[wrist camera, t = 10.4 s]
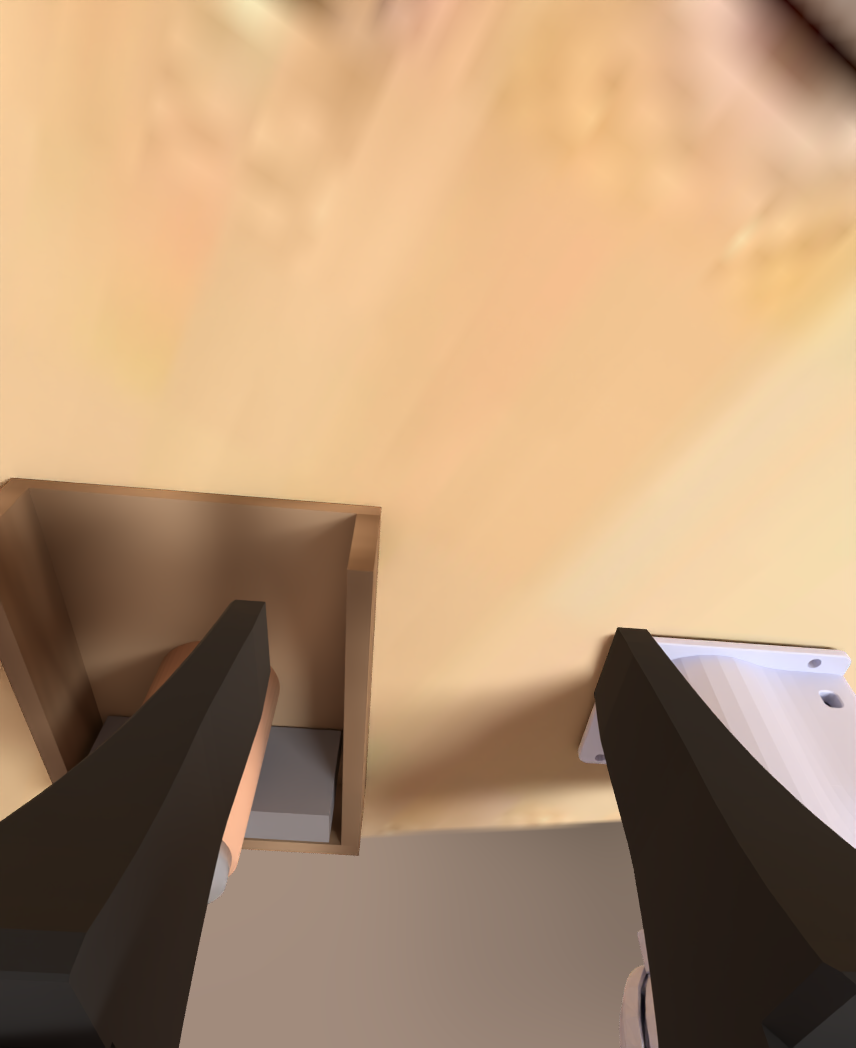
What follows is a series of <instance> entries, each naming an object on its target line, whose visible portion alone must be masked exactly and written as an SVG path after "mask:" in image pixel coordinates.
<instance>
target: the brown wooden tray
mask: <svg viewBox="0 0 856 1048" xmlns="http://www.w3.org/2000/svg"><path fill="white" fill-rule="evenodd" d="M380 522H381V507H371V506H358V505H346V504H333V503H321V502H308V501H295V500H283V499H270V498H258V497H245V496H232V495H220V494H207V493H194V492H182V491H169V490H157V489H144V488H131V487H119V486H106V485H94V484H81V483H68V482H56V481H43V480H30V479H18V478H11V479H10V480H9V481H8V482H7V483H6V484H5V485H4V486H3V487H2V488H1V489H0V660H1V662H2V665H3V667H4V670H5V672H6V674H7V677H8V679H9V681H10V684H11V686H12V689H13V691H14V693H15V696H16V698H17V700H18V703H19V705H20V708H21V710H22V712H23V715H24V717H25V719H26V722H27V724H28V727H29V729H30V731H31V734H32V736H33V739H34V741H35V743H36V746H37V748H38V750H39V753H40V755H41V758H42V760H43V762H44V765H45V767H46V769H47V772H48V774H49V777H50V779H51V781H52V784H53V783H54V782H56V781H57V780H58V779H60V778H61V777H62V776H63V775H65V774H66V773H67V772H68V771H70V770H71V769H72V768H73V767H74V766H76V765H77V764H78V763H79V762H81V761H82V760H83V759H84V758H85V757H87V756H88V755H89V753H90V751H91V749H92V747H93V745H94V743H95V741H96V739H97V737H98V735H99V733H100V731H101V729H102V727H103V725H104V723H105V721H106V719H107V717H108V716H119V717H131V716H132V715H133V714H134V713H135V712H136V711H137V710H138V709H139V708H140V707H141V706H142V704H143V702H144V700H145V697H146V695H147V693H148V691H149V689H150V686H151V684H152V682H153V680H154V678H155V675H156V673H157V671H158V669H159V667H160V664H161V662H162V660H163V659H164V657H165V656H166V655H167V654H168V653H169V652H170V651H172V650H173V649H175V648H176V647H178V646H180V645H183V644H186V643H190V642H194V641H201V640H202V639H203V638H204V636H205V635H206V634H207V633H208V631H209V630H210V629H211V628H212V626H213V625H214V624H215V622H216V621H217V620H218V619H219V617H220V616H221V615H222V613H223V612H224V611H225V609H226V608H227V607H228V605H229V604H230V603H231V602H232V601H234V600H248V601H262V602H265V603H266V616H267V629H268V643H269V656H270V666H271V667H272V668H273V670H274V671H275V673H276V675H277V677H278V679H279V683H280V694H279V698H278V702H277V706H276V710H275V714H274V718H273V722H272V726H273V727H288V728H304V729H319V730H335V731H341V759H340V766H339V773H338V781H337V788H336V795H335V802H334V810H333V817H332V824H331V832H330V839H329V842H312V841H294V840H277V839H260V838H244V840H243V844H242V848H241V849H251V850H269V851H286V852H303V853H321V854H339V855H356V856H358V855H359V848H360V837H361V827H362V817H363V807H364V797H365V786H366V769H367V751H368V734H369V716H370V698H371V681H372V663H373V645H374V628H375V610H376V592H377V575H378V557H379V539H380Z"/></svg>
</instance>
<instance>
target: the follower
mask: <svg viewBox="0 0 856 1048" xmlns="http://www.w3.org/2000/svg"><path fill="white" fill-rule="evenodd" d="M129 718H130V717H119V716H108V717H107V719H106V721H105V723H104V725H103V727H102V729H101V731H100V733H99V735H98V737H97V739H96V741H95V743H94V745H93V747H92V749H91V751H90V753H92V752H93V751H94V750H95V749H96V748H97V747H98V746H100V745H101V744H102V743H103V742H104V741H105V740H106V739H107V738H109V737H110V736H111V735H112V734H113V733H114V732H115V731H116V730H117V729H119V728H120V727H121V726H122V725H123V724H124V723H125V722H126V721H127V720H128V719H129ZM90 753H89V754H90ZM340 759H341V731H335V730H319V729H304V728H288V727H273V726H271V730H270V734H269V738H268V742H267V746H266V751H265V755H264V759H263V763H262V767H261V771H260V775H259V779H258V783H257V787H256V791H255V795H254V799H253V803H252V807H251V812H250V816H249V820H248V824H247V828H246V832H245V836H244V838H260V839H277V840H294V841H312V842H329V839H330V832H331V824H332V817H333V810H334V802H335V795H336V788H337V781H338V773H339V766H340Z"/></svg>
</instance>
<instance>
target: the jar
mask: <svg viewBox="0 0 856 1048" xmlns="http://www.w3.org/2000/svg"><path fill="white" fill-rule="evenodd" d="M199 642H200V641H194V642H190V643H186V644H183V645H180V646H178V647H176V648H175V649H173V650H172V651H170V652H169V653H168V654H167V655H166V656H165V657H164V659H163V660H162V662H161V664H160V667H159V669H158V671H157V673H156V675H155V678H154V680H153V682H152V684H151V686H150V689H149V691H148V693H147V695H146V697H145V700H144V702H143V704H144V703H145V702H146V701H147V700H148V699H149V698H150V697H151V696H152V695H153V694H154V693H155V692H156V691H157V690H158V689H159V688H160V687H161V686H162V685H163V684H164V683H165V681H166V680H167V679H168V678H169V677H170V676H171V675H172V674H173V673H174V671H175V670H176V669H177V668H178V667H179V666H180V665H181V663H182V662H183V661H184V660H185V659H186V658H187V657H188V655H189V654H190V653H191V652H192V651H193V650H194V649H195V647H196V646H197V645H198V644H199ZM270 669H271V672H270V677H269V682H268V687H267V692H266V697H265V702H264V707H263V712H262V716H261V720H260V723H259V726H258V730H257V733H256V736H255V739H254V742H253V745H252V748H251V751H250V754H249V757H248V760H247V763H246V766H245V769H244V772H243V776H242V779H241V782H240V785H239V788H238V791H237V794H236V797H235V800H234V803H233V806H232V809H231V812H230V815H229V818H228V821H227V825H226V828H225V832H224V835H223V839H222V842H221V846H220V851H219V855H218V859H217V864H216V868H215V873H214V877H213V881H212V886H211V890H210V895H209V899H208V904H209V903H211V902H213V901H215V900H216V899H218V898H219V897H220V896H221V895H222V894H223V892H224V890H225V887H226V883H227V879H228V877H229V876H230V875H231V874H232V873H233V872H234V870H235V869H236V867H237V864H238V860H239V856H240V852H241V848H242V844H243V840H244V836H245V832H246V828H247V824H248V820H249V816H250V812H251V807H252V803H253V799H254V795H255V791H256V787H257V783H258V779H259V775H260V771H261V767H262V763H263V759H264V755H265V751H266V746H267V742H268V738H269V734H270V730H271V726H272V722H273V718H274V714H275V710H276V706H277V702H278V698H279V694H280V683H279V679H278V677H277V675H276V673H275V671H274V670H273V668H272V667H271V666H270ZM143 704H142V705H143Z"/></svg>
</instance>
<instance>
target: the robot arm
mask: <svg viewBox="0 0 856 1048" xmlns="http://www.w3.org/2000/svg"><path fill="white" fill-rule="evenodd" d="M850 664H851V659H850V657H849V656H848V654H847V653H846V652H844V651H841V650H830V649H816V648H802V647H789V646H775V645H761V644H747V643H733V642H719V641H706V640H692V639H678V638H664V637H652V635H651V634H650V633H649V632H648V630H647V629H633V628H620V627H618V628H617V630H616V633H615V636H614V639H613V642H612V644H611V647H610V650H609V653H608V656H607V658H606V661H605V664H604V667H603V670H602V672H601V675H600V678H599V681H598V684H597V687H596V689H595V692H594V697H595V704H594V707H593V709H592V712H591V715H590V718H589V720H588V723H587V726H586V729H585V731H584V734H583V737H582V740H581V743H580V745H579V748H578V756H579V759H580V760H581V761H583V762H585V763H597V764H607V768H608V771H609V775H610V779H611V783H612V786H613V790H614V794H615V798H616V801H617V805H618V809H619V812H620V816H621V820H622V823H623V827H624V831H625V834H626V838H627V841H628V846H629V850H630V855H631V859H632V864H633V868H634V873H635V880H636V886H637V892H638V898H639V904H640V910H641V916H642V923H643V929H642V930H640V931H638V933H637V935H638V939H639V943H640V948H641V952H642V957H643V961H644V965H642V966H638V967H637V968H635V969H634V970H633V971H632V972H631V973H630V975H629V977H628V979H627V981H626V985H625V989H624V993H623V1002H622V1006H621V1011H620V1022H619V1023H620V1024H619V1034H620V1047H621V1048H856V695H855V693H854V692H853V690H852V688H851V687H850V685H849V684H848V682H847V681H846V679H845V678H844V676H843V675H844V674H845V672H846V671H847V669H848V668H849V666H850ZM270 672H271V669H270V656H269V643H268V629H267V616H266V603H265V602H262V601H248V600H234V601H232V602H231V603H230V604H229V605H228V607H227V608H226V609H225V611H224V612H223V613H222V615H221V616H220V617H219V619H218V620H217V621H216V622H215V624H214V625H213V626H212V628H211V629H210V630H209V631H208V633H207V634H206V635H205V636H204V638H203V639H202V640H201V641H200V642H199V644H198V645H197V646H196V647H195V649H194V650H193V651H192V652H191V653H190V654H189V655H188V657H187V658H186V659H185V660H184V661H183V662H182V663H181V665H180V666H179V667H178V668H177V669H176V670H175V671H174V673H173V674H172V675H171V676H170V677H169V678H168V679H167V680H166V681H165V683H164V684H163V685H162V686H161V687H160V688H159V689H158V690H157V691H156V692H155V693H154V694H153V695H152V696H151V697H150V698H149V699H148V700H147V701H146V702H145V703H144V704H143V705H142V706H141V707H140V708H139V709H138V710H137V711H136V712H135V713H134V714H133V715H132V716H131V717H130V718H129V719H128V720H127V721H126V722H125V723H124V724H123V725H122V726H121V727H120V728H119V729H117V730H116V731H115V732H114V733H113V734H112V735H111V736H110V737H109V738H107V739H106V740H105V741H104V742H103V743H102V744H101V745H100V746H98V747H97V748H96V749H95V750H94V751H93V752H92V753H90V754H89V755H88V756H87V757H85V758H84V759H83V760H82V761H81V762H79V763H78V764H77V765H76V766H74V767H73V768H72V769H71V770H70V771H68V772H67V773H66V774H65V775H63V776H62V777H61V778H60V779H58V780H57V781H56V782H54V783H53V784H52V785H51V786H49V787H48V788H47V789H45V790H44V791H43V792H41V793H40V794H39V795H37V796H36V797H34V798H33V799H32V800H30V801H29V802H27V803H26V804H25V805H23V806H22V807H20V808H19V809H17V810H16V811H15V812H13V813H12V814H10V815H9V816H7V817H6V818H5V819H3V820H2V821H0V1048H179V1043H180V1038H181V1032H182V1027H183V1021H184V1016H185V1011H186V1006H187V1001H188V996H189V991H190V986H191V981H192V976H193V971H194V965H195V961H196V956H197V951H198V946H199V941H200V937H201V932H202V927H203V922H204V918H205V913H206V909H207V904H208V899H209V895H210V890H211V886H212V881H213V877H214V873H215V868H216V864H217V859H218V855H219V851H220V846H221V842H222V839H223V835H224V832H225V828H226V825H227V821H228V818H229V815H230V812H231V809H232V806H233V803H234V800H235V797H236V794H237V791H238V788H239V785H240V782H241V779H242V776H243V772H244V769H245V766H246V763H247V760H248V757H249V754H250V751H251V748H252V745H253V742H254V739H255V736H256V733H257V730H258V726H259V723H260V720H261V716H262V712H263V707H264V702H265V697H266V692H267V687H268V682H269V677H270Z"/></svg>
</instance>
